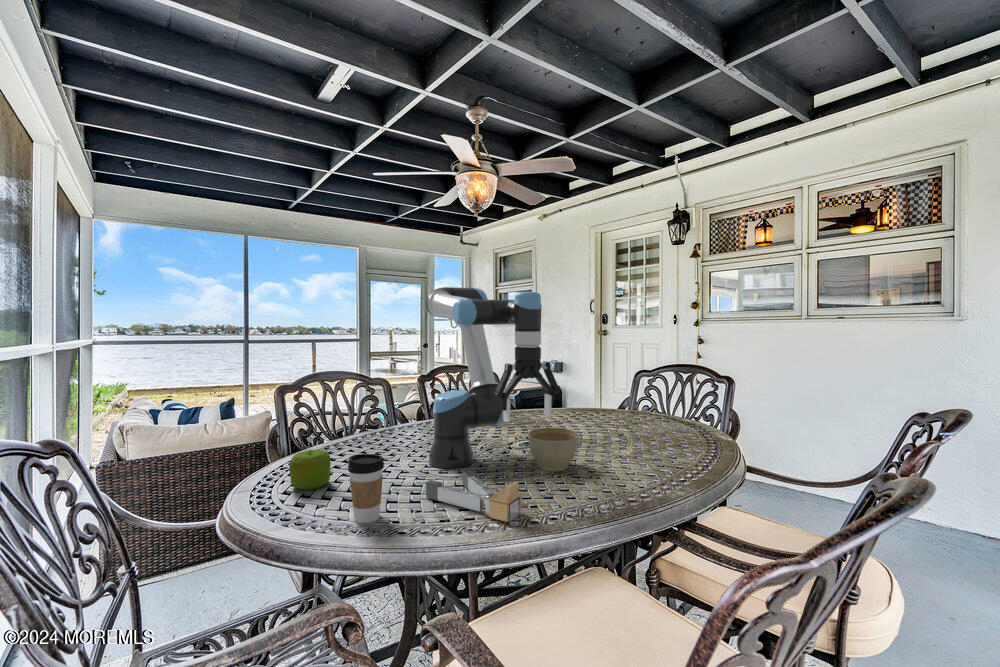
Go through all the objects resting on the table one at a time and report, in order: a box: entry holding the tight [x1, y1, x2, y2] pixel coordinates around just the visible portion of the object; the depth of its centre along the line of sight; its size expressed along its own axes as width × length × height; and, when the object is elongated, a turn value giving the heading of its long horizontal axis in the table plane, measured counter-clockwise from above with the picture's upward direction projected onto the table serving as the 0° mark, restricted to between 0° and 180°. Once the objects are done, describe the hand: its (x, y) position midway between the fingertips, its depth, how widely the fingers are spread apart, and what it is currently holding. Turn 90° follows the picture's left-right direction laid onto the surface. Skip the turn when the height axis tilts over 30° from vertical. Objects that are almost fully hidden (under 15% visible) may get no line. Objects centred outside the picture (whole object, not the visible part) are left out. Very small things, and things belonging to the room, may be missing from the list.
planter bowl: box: [527, 427, 579, 472], centre depth 143 cm, size 16×16×11 cm
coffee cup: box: [347, 453, 385, 524], centre depth 107 cm, size 8×8×15 cm
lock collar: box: [488, 481, 522, 523], centre depth 108 cm, size 5×7×8 cm
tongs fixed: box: [425, 479, 520, 522], centre depth 114 cm, size 26×4×5 cm, turn 59°
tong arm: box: [462, 468, 496, 505], centre depth 120 cm, size 17×2×4 cm, turn 27°
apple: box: [288, 448, 332, 491], centre depth 128 cm, size 11×11×11 cm
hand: (527, 419), depth 128 cm, fingers open, 13 cm apart
